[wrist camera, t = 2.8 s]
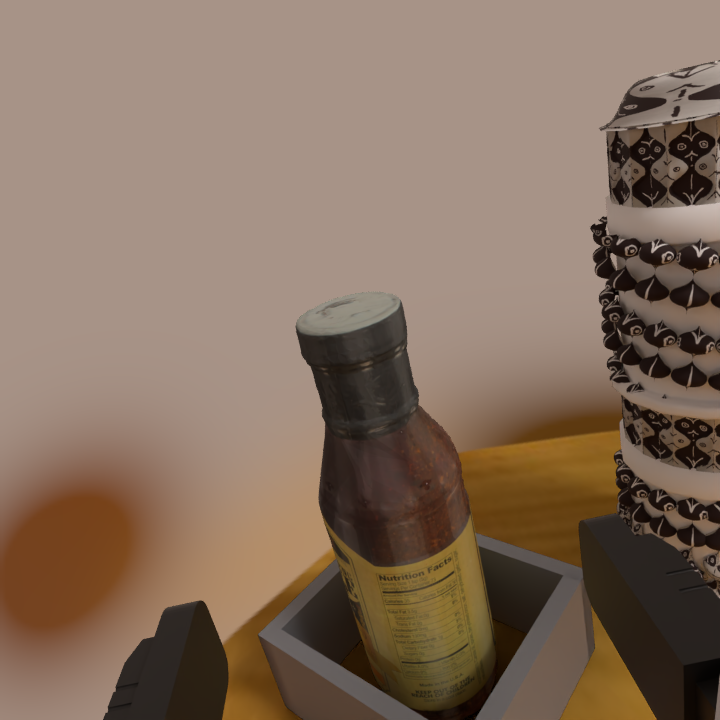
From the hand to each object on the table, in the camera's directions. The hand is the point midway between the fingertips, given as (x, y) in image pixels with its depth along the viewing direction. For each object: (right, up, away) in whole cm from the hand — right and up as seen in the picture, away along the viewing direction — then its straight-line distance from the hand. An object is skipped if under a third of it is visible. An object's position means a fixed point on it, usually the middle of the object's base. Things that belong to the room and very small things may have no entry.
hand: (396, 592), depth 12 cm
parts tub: (+3, -11, +17) cm, 20 cm away
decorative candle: (+18, -7, +19) cm, 27 cm away
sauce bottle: (+3, -11, +17) cm, 20 cm away
